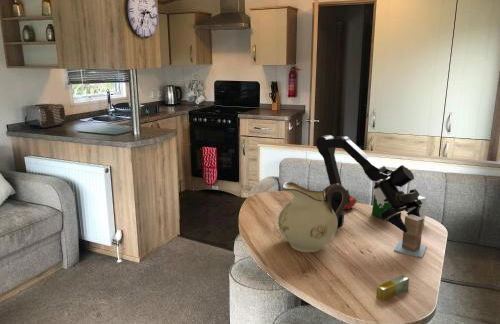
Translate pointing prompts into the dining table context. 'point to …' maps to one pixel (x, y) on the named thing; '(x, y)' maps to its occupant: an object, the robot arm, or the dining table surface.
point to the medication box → (392, 288)
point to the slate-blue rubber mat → (405, 251)
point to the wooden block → (412, 232)
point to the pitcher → (310, 216)
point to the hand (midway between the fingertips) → (413, 229)
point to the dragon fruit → (351, 203)
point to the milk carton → (379, 202)
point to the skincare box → (422, 207)
